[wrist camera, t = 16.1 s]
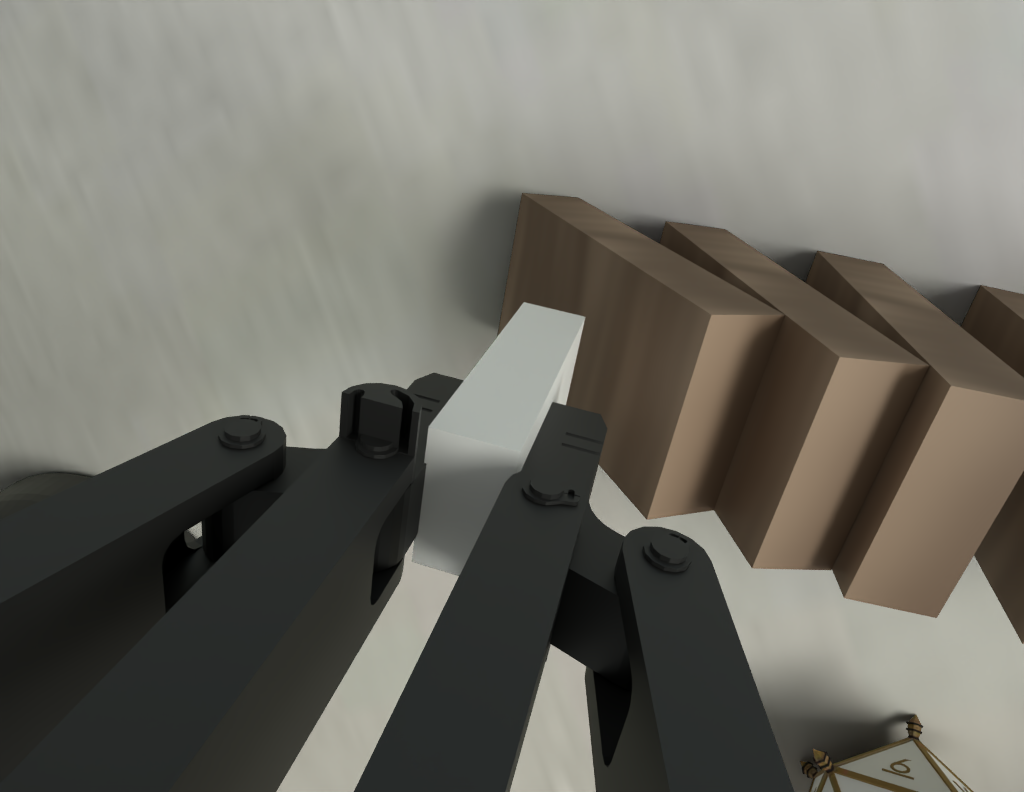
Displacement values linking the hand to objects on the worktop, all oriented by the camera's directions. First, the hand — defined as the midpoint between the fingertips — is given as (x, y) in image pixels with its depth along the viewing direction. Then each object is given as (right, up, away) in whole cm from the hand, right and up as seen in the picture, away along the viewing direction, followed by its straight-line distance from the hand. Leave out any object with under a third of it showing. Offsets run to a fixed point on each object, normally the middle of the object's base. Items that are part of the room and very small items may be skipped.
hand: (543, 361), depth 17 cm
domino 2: (+4, +2, +6) cm, 8 cm away
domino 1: (0, +3, +6) cm, 7 cm away
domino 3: (+9, +1, +6) cm, 11 cm away
